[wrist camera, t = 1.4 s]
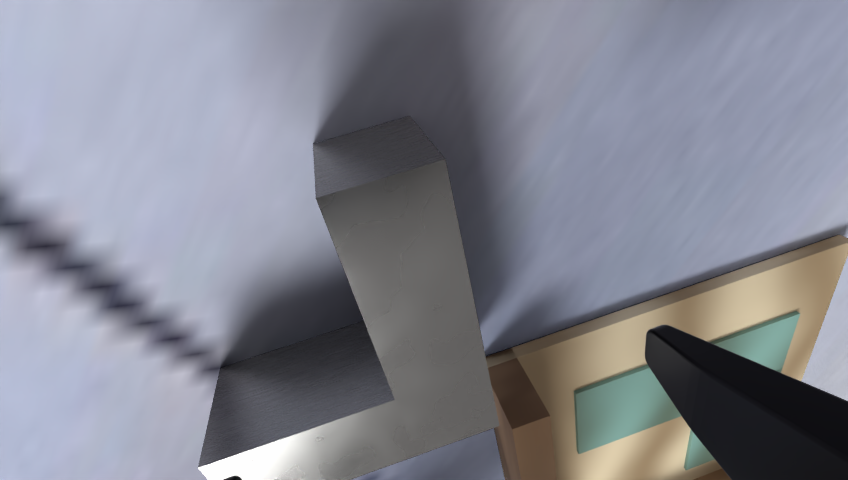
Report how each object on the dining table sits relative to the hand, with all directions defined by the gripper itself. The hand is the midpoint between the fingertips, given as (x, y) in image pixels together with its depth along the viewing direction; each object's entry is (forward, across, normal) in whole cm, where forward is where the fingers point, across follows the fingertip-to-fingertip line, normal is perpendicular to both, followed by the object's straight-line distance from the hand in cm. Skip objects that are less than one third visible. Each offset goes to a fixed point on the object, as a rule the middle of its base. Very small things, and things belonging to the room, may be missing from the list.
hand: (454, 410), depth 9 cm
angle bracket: (+7, +3, +1) cm, 8 cm away
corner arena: (+7, -11, +16) cm, 21 cm away
